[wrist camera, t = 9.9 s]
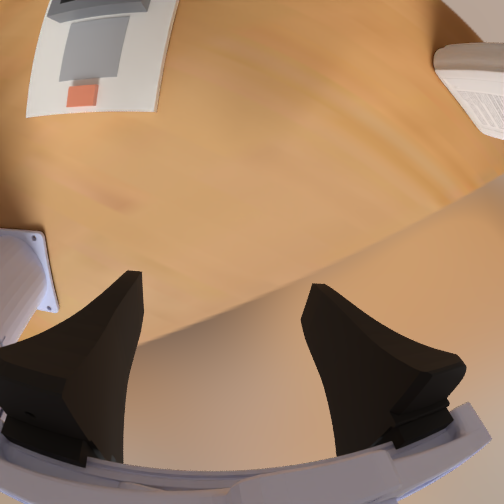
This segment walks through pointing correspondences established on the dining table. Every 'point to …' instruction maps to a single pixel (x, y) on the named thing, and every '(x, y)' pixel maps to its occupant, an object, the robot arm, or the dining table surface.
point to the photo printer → (475, 82)
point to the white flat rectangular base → (100, 56)
